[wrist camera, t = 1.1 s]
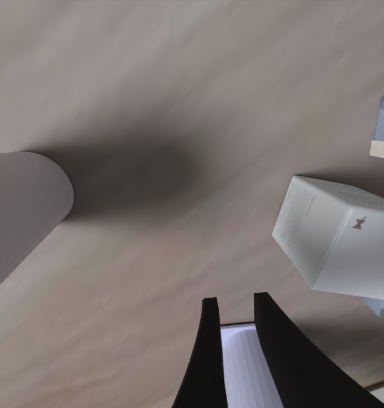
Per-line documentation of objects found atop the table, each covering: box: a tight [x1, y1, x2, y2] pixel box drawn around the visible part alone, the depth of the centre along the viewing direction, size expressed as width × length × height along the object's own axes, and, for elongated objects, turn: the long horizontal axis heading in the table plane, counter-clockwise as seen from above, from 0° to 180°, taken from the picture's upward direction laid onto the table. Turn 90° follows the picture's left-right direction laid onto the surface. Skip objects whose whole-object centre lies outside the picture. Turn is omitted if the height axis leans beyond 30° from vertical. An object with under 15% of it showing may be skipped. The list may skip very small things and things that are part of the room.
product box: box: [272, 175, 384, 300], centre depth 16 cm, size 6×6×7 cm
